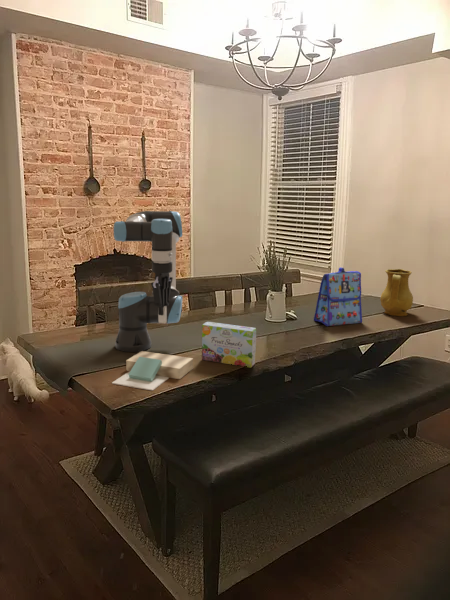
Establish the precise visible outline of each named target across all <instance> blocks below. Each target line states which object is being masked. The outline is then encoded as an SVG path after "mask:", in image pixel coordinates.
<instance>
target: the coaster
mask: <svg viewBox="0 0 450 600" xmlns="http://www.w3.org/2000/svg"><path fill="white" fill-rule="evenodd" d="M161 365H162V361H161V360H158V359H152V358H145V357H139V358H138V359H137V361H136V363H135V364H134V366H133V368H132V369H131V371H130V373H129V374H128V375H129V378H133V379H139V380H145V381H151V382H152V381H153V379H154V377H155V375H156V374H157V372H158V370H159V368H160V366H161ZM156 376H157V375H156Z"/></svg>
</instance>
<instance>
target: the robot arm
mask: <svg viewBox="0 0 450 600" xmlns="http://www.w3.org/2000/svg"><path fill="white" fill-rule="evenodd" d="M113 223H114V224H113V239H114V240H115V241H116V242H151V261H152V262H151V272H152V273H154V274H155V275H154V281H153V282H151V284H150V285H151V288H152V293H151V295H148V294H147V292H146V291H134V292H133V291H132V292H128V293H124V294H122V295H121V296H120V297H119V298H118V306H117V307H118V331H117V336H116V339H115V349H116V350H118V351H120V352H124V353H125V352H127V353H128V352H129V353H130V352H131V353H134V352H135V353H139V352H141V351H146V350H149V349H150V348H151V347H152V338H151V336H150V334H149V331H148V325H147V324H175V323H176V324H177V323H179V322H180V320H181V315H182V310H183V309H182V308H183V296H182V295H180V291H179V290H177V288H176V287H177V286H176V285H177V269H176V268H177V243H179V241H180V238H181V237H183V227H182V225H183V224H182V217H181V215H180V213H179V212H178V211H171V210H167V211H166V210H165V211H163V210H162V211H161V210H144V211H139V212H135V213H133V214H130V215H129V216H127V218H126V220H124V221H123V220H122V221H115V222H113Z"/></svg>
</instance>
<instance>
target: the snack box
mask: <svg viewBox="0 0 450 600" xmlns="http://www.w3.org/2000/svg"><path fill="white" fill-rule="evenodd" d="M256 347H257V328H256V327H251V326H246V325H245V326H244V325H237V324H236V325H234V324H231V323H230V324H229V323H222V322H214V321H206V322H204V323H203V324H201V360H202V361H208V362H215V363H221V364H227V365H231V364H232V365H233V366H237V365H241V366H240V367H244V366H247V367H246V368H252V367H254V365H255V364H256V351H257V349H256Z"/></svg>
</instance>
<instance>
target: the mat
mask: <svg viewBox="0 0 450 600" xmlns="http://www.w3.org/2000/svg"><path fill="white" fill-rule="evenodd" d="M129 373H130V371H127V372H126V373H124V374H123V375H122V376H120V377H118V378H116V380H114V381H112V382H111V384H112V385H118V386H124V387H130V388H135V389H142V390H147V391H154V390H156V389H157V388H159V386H161V385H162V384H164V383H165V382H166V381H168V380H169V377H163V376H157V375H155V377H154V379H153V381H152V382H151V381H145V380H139V379H133V378H129V375H128V374H129Z"/></svg>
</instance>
